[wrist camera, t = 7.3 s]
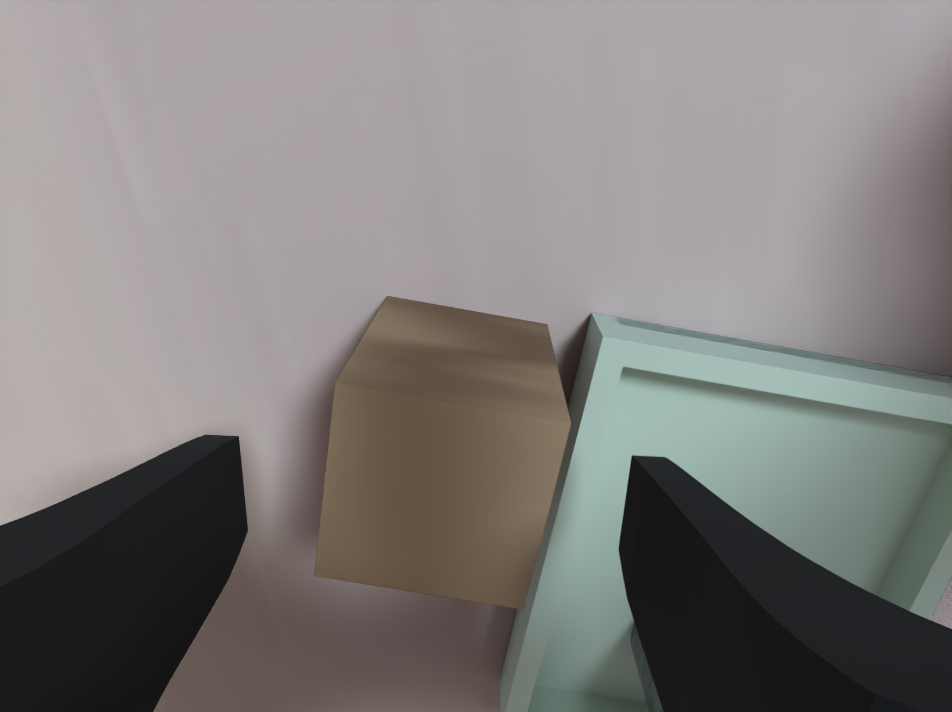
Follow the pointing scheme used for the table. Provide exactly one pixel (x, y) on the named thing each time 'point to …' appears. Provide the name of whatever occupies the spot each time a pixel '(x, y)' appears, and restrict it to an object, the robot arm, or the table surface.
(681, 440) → the tray
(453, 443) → the block
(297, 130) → the table surface
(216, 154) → the table surface
